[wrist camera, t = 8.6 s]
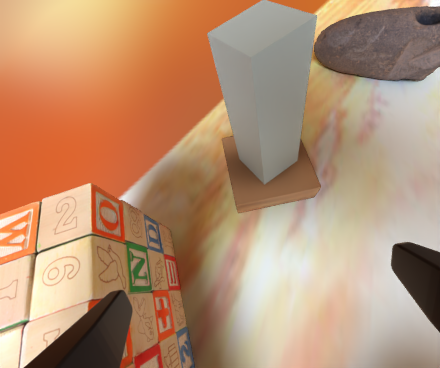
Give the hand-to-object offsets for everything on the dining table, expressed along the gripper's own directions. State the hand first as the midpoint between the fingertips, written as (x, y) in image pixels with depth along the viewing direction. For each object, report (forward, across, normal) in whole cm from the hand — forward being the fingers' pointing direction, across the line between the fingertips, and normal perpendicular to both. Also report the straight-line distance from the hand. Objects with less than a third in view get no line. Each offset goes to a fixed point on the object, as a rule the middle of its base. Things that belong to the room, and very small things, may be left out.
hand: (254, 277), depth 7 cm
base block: (+17, -4, +3) cm, 18 cm away
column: (+15, -4, 0) cm, 16 cm away
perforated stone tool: (+25, -20, -6) cm, 33 cm away
